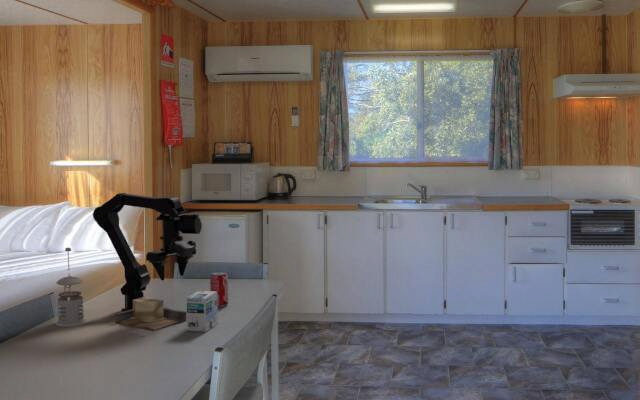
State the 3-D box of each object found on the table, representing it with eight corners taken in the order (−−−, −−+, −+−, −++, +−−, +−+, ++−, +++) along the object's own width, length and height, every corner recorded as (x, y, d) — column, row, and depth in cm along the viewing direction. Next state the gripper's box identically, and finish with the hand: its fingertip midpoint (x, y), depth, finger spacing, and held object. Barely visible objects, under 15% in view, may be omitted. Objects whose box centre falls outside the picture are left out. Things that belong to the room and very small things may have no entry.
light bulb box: (206, 332, 212) (206, 298, 211) (186, 331, 213) (185, 297, 212) (218, 323, 222) (218, 290, 221) (199, 322, 224) (198, 290, 223)
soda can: (207, 307, 244) (206, 273, 243) (216, 302, 250) (215, 270, 248) (222, 308, 241) (221, 275, 240) (231, 304, 247) (230, 271, 246)
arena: (116, 322, 224) (115, 313, 224) (148, 313, 236) (148, 304, 235) (155, 330, 214) (154, 321, 214) (186, 320, 226) (186, 311, 226)
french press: (57, 328, 218) (53, 250, 216) (52, 319, 228) (49, 245, 226) (89, 324, 223) (86, 248, 220) (83, 315, 233) (80, 243, 231)
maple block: (152, 321, 222) (151, 303, 222) (133, 317, 227) (132, 300, 227) (163, 318, 227) (163, 300, 226) (144, 314, 231) (144, 296, 231)
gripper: (168, 238, 223) (169, 285, 224) (207, 231, 238) (208, 275, 240) (144, 236, 229) (145, 281, 230) (183, 229, 244) (184, 272, 246)
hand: (172, 277), depth 236 cm, fingers open, 9 cm apart
